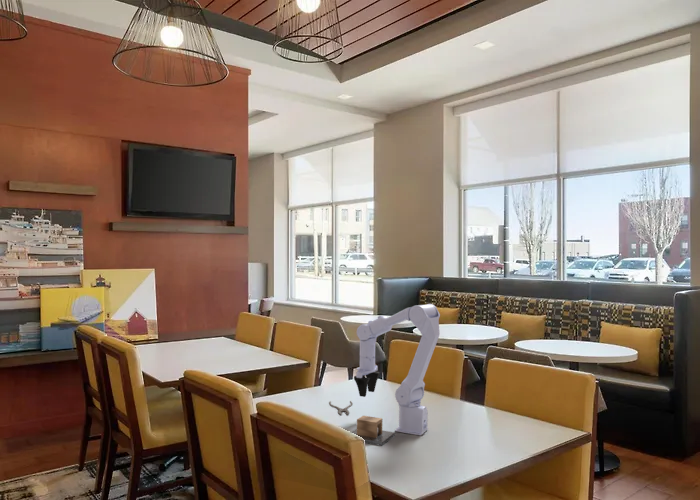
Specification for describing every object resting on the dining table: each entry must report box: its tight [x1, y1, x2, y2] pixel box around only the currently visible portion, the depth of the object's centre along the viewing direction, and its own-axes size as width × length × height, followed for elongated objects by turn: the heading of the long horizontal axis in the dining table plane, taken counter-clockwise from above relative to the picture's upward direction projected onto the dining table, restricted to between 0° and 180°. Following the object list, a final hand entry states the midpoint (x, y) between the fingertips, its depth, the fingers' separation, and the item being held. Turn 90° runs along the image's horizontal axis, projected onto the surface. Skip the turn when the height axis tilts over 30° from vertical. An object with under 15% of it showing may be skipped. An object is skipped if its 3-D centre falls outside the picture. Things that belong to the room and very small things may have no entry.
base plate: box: [351, 427, 396, 446], centre depth 177 cm, size 13×11×4 cm
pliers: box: [328, 400, 353, 416], centre depth 212 cm, size 10×1×20 cm
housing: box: [356, 415, 383, 438], centre depth 178 cm, size 7×5×5 cm
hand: (367, 393), depth 197 cm, fingers open, 7 cm apart
